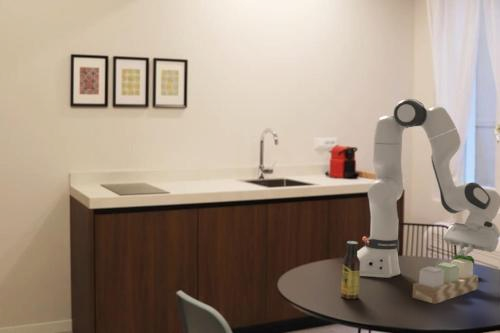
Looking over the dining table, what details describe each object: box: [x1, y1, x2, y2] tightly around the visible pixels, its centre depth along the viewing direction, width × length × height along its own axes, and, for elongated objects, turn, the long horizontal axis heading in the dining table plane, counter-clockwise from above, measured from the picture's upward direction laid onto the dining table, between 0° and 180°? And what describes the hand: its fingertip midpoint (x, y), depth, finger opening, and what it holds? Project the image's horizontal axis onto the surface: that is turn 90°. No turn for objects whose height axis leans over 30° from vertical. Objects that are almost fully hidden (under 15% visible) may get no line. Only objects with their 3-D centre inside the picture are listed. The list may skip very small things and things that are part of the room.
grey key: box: [418, 266, 444, 288], centre depth 217 cm, size 6×6×7 cm
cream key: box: [449, 259, 474, 279], centre depth 230 cm, size 6×6×7 cm
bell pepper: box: [453, 254, 475, 269], centre depth 249 cm, size 8×8×10 cm
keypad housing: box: [412, 274, 479, 305], centre depth 224 cm, size 29×9×5 cm, turn 131°
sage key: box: [434, 262, 459, 283], centre depth 223 cm, size 6×6×7 cm
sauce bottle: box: [340, 240, 361, 300], centre depth 216 cm, size 7×6×20 cm
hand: (461, 255), depth 229 cm, fingers closed
